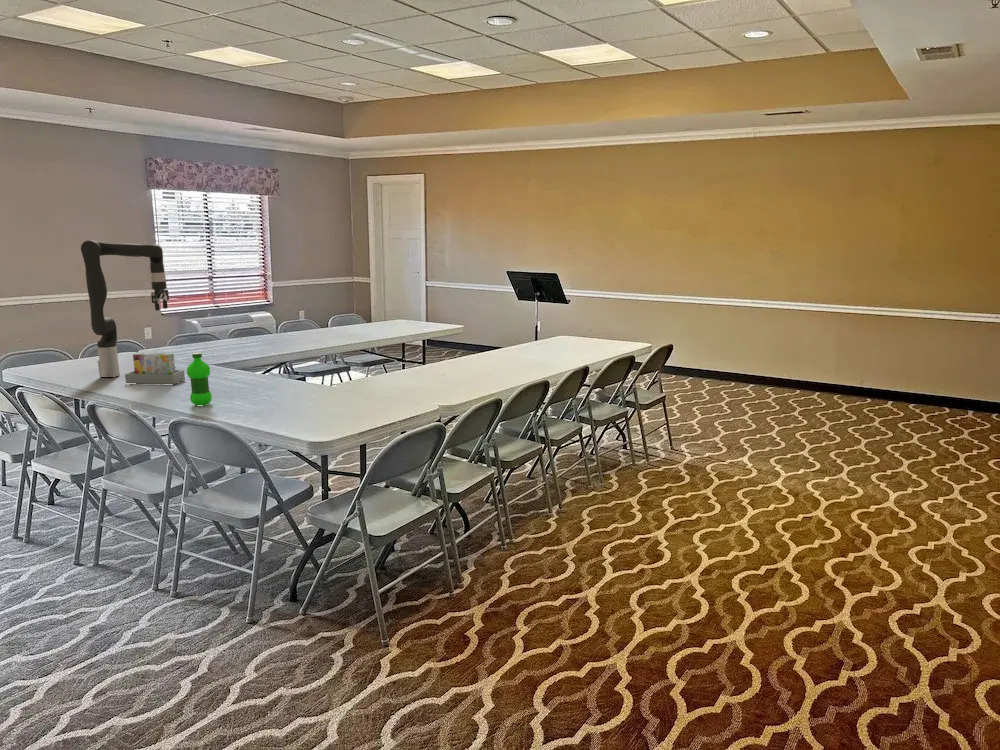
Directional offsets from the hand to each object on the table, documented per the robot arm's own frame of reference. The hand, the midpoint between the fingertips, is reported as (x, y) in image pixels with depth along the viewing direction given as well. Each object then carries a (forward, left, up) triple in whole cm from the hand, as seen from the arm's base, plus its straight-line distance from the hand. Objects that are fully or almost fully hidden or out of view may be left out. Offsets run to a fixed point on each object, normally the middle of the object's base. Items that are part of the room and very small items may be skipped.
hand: (161, 309), depth 418 cm
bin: (+7, -27, -36) cm, 46 cm away
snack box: (+7, -27, -36) cm, 45 cm away
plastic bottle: (+55, -72, -36) cm, 98 cm away
